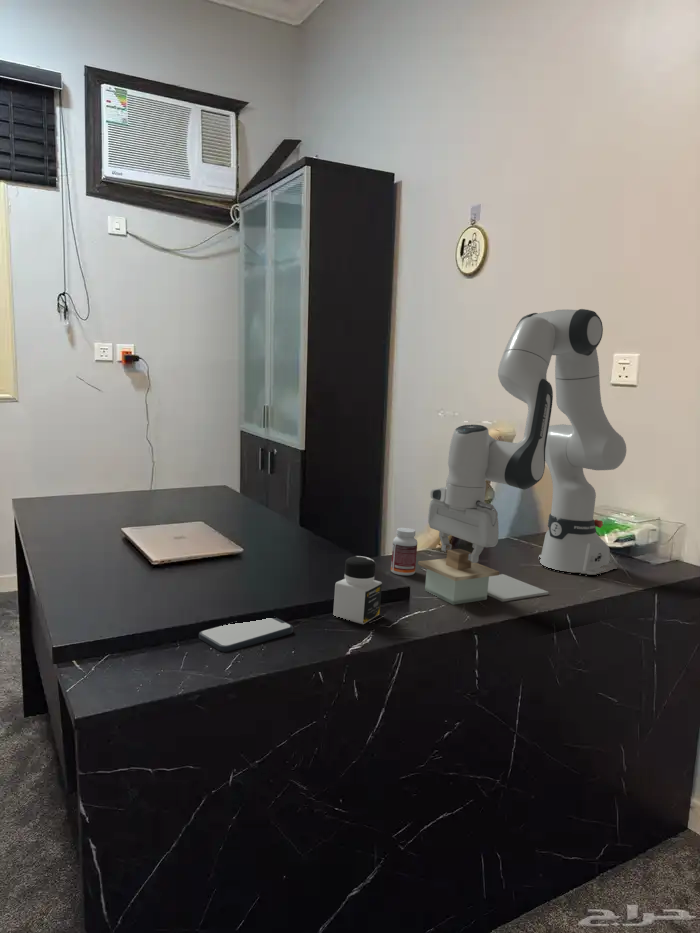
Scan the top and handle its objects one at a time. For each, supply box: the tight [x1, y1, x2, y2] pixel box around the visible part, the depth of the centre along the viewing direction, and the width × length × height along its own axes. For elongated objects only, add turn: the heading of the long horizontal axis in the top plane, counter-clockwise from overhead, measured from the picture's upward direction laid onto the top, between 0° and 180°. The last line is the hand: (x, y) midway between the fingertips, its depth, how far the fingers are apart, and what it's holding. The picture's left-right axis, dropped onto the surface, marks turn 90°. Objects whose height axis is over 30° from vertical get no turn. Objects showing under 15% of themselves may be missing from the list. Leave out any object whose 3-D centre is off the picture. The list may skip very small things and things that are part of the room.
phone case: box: [198, 617, 294, 653], centre depth 124 cm, size 9×2×16 cm
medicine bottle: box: [332, 555, 383, 625], centre depth 137 cm, size 7×7×12 cm
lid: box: [417, 548, 500, 581], centre depth 154 cm, size 13×13×4 cm
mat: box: [487, 573, 549, 603], centre depth 163 cm, size 15×15×1 cm
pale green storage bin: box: [424, 568, 489, 606], centre depth 155 cm, size 10×10×6 cm
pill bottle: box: [390, 527, 418, 576], centre depth 170 cm, size 6×6×11 cm
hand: (459, 556), depth 154 cm, fingers open, 8 cm apart
